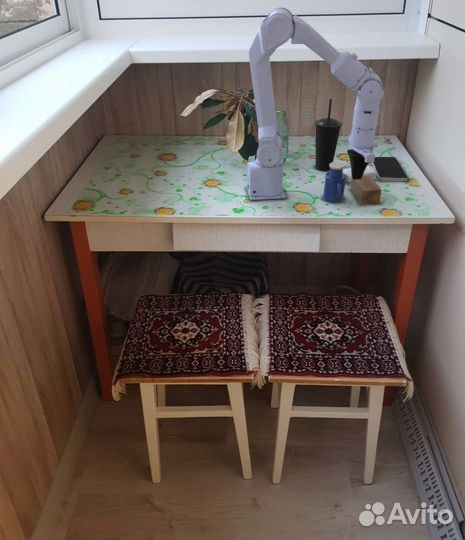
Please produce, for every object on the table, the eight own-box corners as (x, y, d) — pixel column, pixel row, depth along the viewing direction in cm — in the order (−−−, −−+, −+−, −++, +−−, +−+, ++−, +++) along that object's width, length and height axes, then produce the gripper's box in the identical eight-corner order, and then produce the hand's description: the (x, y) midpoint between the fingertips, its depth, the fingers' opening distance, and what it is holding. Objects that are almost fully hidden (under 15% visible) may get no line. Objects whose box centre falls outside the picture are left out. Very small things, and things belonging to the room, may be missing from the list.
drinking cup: (329, 175, 145) (336, 105, 134) (305, 168, 149) (311, 100, 137) (341, 166, 150) (349, 98, 139) (318, 160, 154) (325, 93, 142)
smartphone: (379, 177, 141) (369, 156, 153) (379, 181, 142) (368, 160, 154) (408, 177, 141) (395, 156, 153) (408, 181, 141) (394, 160, 154)
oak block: (360, 205, 130) (362, 190, 127) (350, 189, 137) (352, 176, 135) (379, 204, 130) (381, 189, 128) (368, 189, 137) (370, 175, 135)
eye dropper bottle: (369, 159, 142) (332, 165, 138) (378, 174, 139) (340, 181, 136) (363, 169, 146) (327, 175, 142) (372, 184, 143) (335, 191, 140)
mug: (334, 214, 130) (313, 188, 126) (327, 202, 136) (306, 177, 131) (365, 191, 128) (344, 164, 123) (356, 180, 133) (336, 154, 128)
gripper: (390, 136, 117) (381, 189, 124) (370, 116, 129) (362, 166, 136) (361, 137, 116) (353, 191, 124) (343, 117, 128) (337, 167, 136)
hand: (356, 178), depth 130 cm, fingers closed
